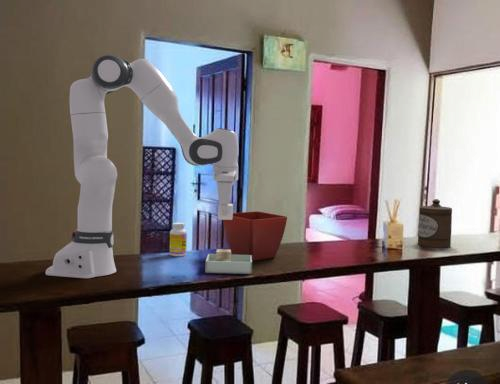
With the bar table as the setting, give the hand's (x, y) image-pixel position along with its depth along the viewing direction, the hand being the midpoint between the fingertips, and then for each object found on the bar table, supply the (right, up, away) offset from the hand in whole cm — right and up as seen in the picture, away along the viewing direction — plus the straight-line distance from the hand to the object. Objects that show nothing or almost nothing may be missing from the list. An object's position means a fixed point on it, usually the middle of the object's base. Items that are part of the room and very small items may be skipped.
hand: (225, 214), depth 187 cm
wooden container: (+97, -18, +65) cm, 118 cm away
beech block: (-1, -19, +1) cm, 19 cm away
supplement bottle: (-20, -18, +23) cm, 35 cm away
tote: (+1, -20, +1) cm, 20 cm away
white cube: (0, -2, 0) cm, 2 cm away
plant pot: (+10, -18, +24) cm, 32 cm away
